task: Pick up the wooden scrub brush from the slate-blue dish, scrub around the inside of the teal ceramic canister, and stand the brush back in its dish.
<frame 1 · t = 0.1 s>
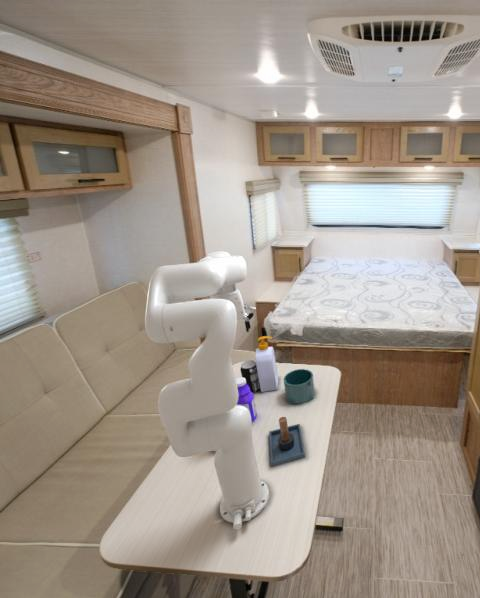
hand: (233, 332, 122), 31 cm above the table, tool pointing down, fingers open, 9 cm apart
canister: (300, 395, 138), on the table
scrub brush: (286, 445, 114), resting on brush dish
bottle: (247, 420, 126), on the table
pill bottle: (221, 445, 114), on the table
soap bottle: (271, 385, 145), on the table
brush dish: (286, 446, 114), on the table
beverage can: (253, 389, 143), on the table
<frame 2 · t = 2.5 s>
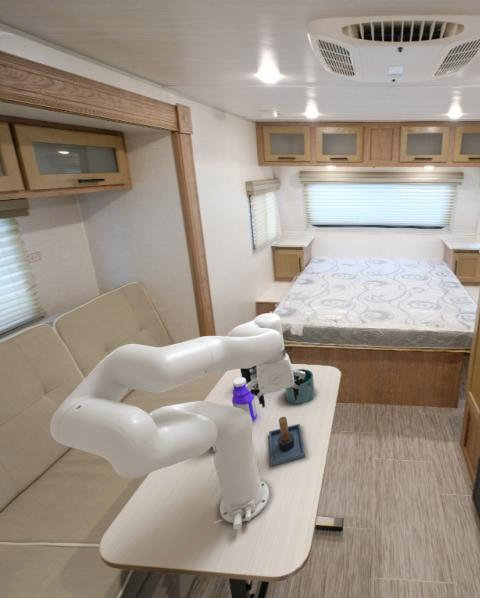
hand: (279, 400, 107), 18 cm above the table, tool pointing down, fingers open, 9 cm apart
nothing on the table moved.
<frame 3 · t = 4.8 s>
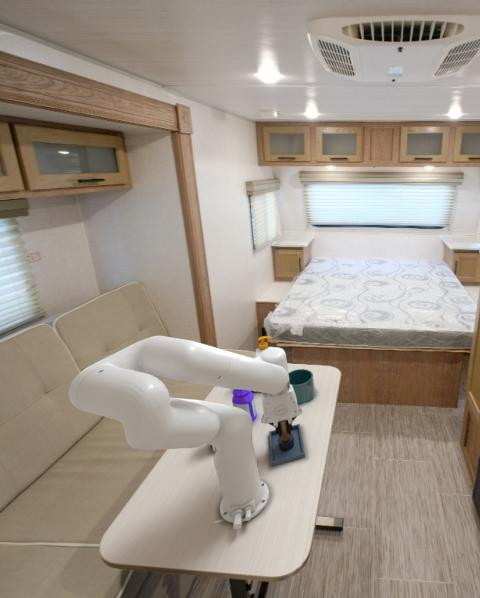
hand: (284, 432, 112), 6 cm above the table, tool pointing down, fingers closed on scrub brush, 2 cm apart
scrub brush: (286, 445, 114), resting on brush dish, touching gripper
everything else where it was.
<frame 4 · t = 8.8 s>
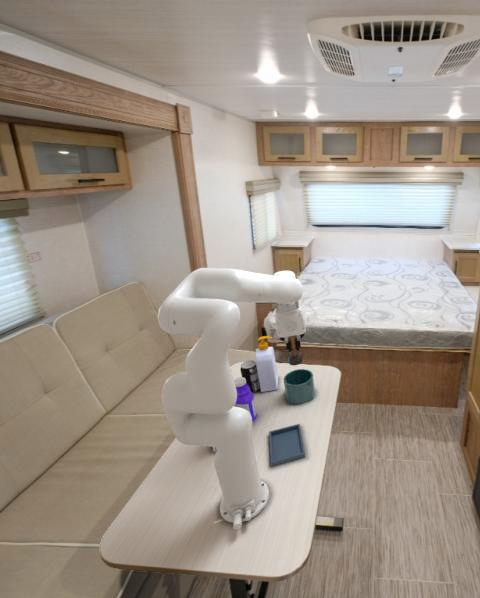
hand: (293, 349, 129), 22 cm above the table, tool pointing down, fingers closed on scrub brush, 2 cm apart
scrub brush: (295, 361, 131), point 17 cm above the table, touching gripper
everything else where it was.
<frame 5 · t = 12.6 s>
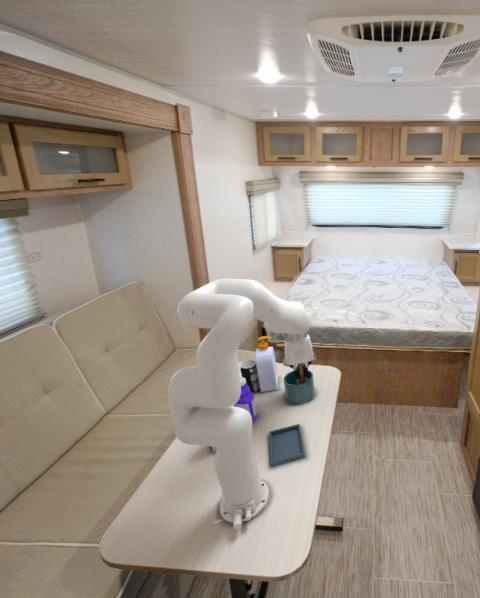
hand: (301, 375, 135), 10 cm above the table, tool pointing down, fingers closed on scrub brush, 2 cm apart
scrub brush: (303, 387, 137), point 4 cm above the table, touching gripper
everything else where it was.
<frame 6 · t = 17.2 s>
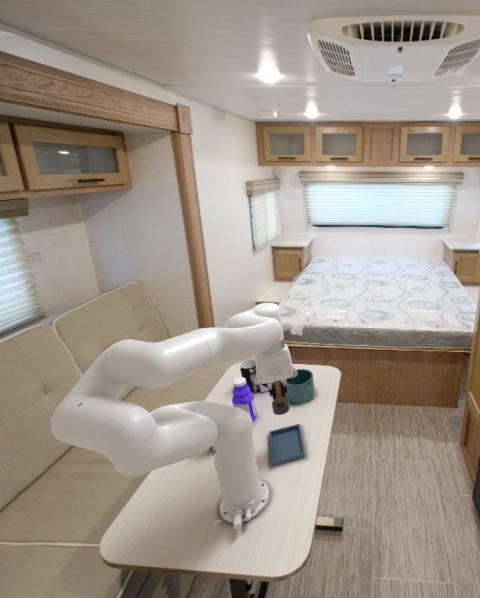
hand: (279, 395, 106), 20 cm above the table, tool pointing down, fingers closed on scrub brush, 2 cm apart
scrub brush: (281, 409, 109), point 15 cm above the table, touching gripper
everything else where it was.
when the fingers open (6 cm above the table, at t = 20.7 s): scrub brush stays where it is, resting on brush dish.
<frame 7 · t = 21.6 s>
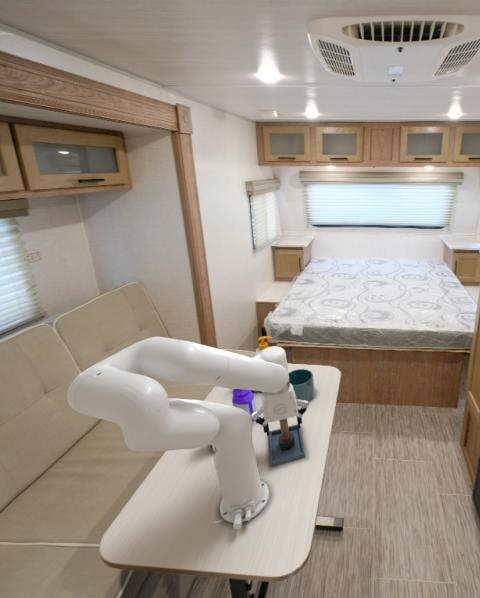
hand: (283, 429, 111), 7 cm above the table, tool pointing down, fingers open, 9 cm apart
scrub brush: (287, 444, 114), resting on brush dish
everything else where it was.
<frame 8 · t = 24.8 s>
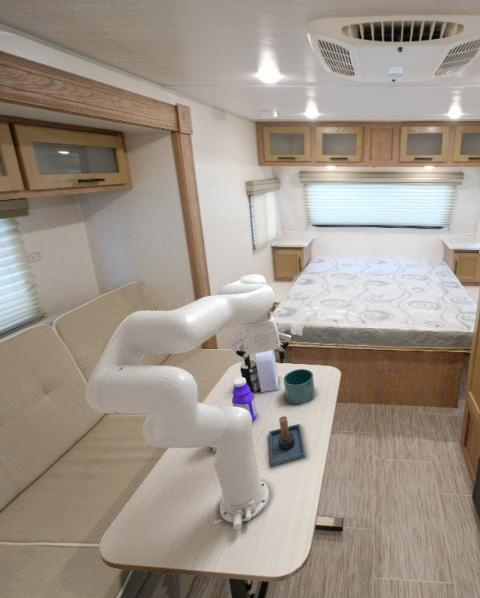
hand: (265, 364, 109), 28 cm above the table, tool pointing down, fingers open, 9 cm apart
nothing on the table moved.
at the end: scrub brush 0.2 cm off-centre in the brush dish, point 0.4 cm above the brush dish's base; scrub brush tilted 0°; scrub brush touching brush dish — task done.
